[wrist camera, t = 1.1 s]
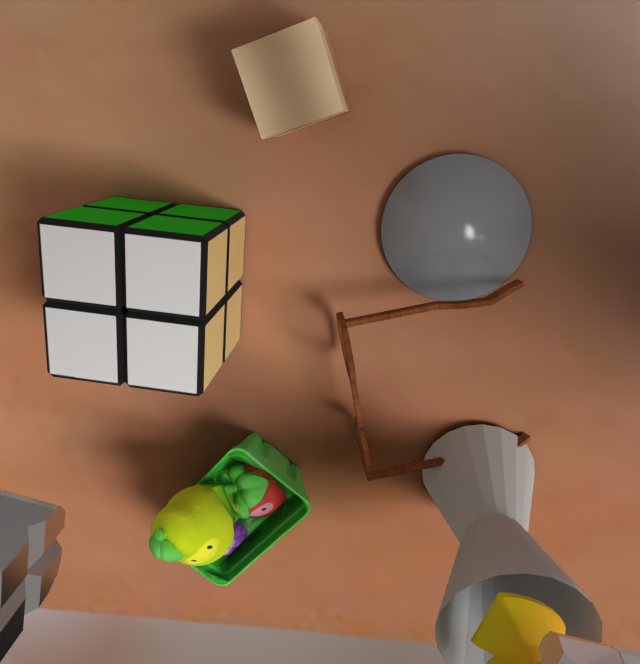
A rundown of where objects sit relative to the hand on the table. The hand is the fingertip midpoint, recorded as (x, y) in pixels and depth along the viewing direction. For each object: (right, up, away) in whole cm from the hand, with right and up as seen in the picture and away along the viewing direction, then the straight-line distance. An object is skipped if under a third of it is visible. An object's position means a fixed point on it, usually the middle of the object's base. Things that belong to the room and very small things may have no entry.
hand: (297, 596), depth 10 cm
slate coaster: (+10, +11, +31) cm, 34 cm away
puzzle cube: (-10, +9, +35) cm, 37 cm away
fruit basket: (-6, -8, +40) cm, 41 cm away
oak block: (-1, +20, +29) cm, 36 cm away
